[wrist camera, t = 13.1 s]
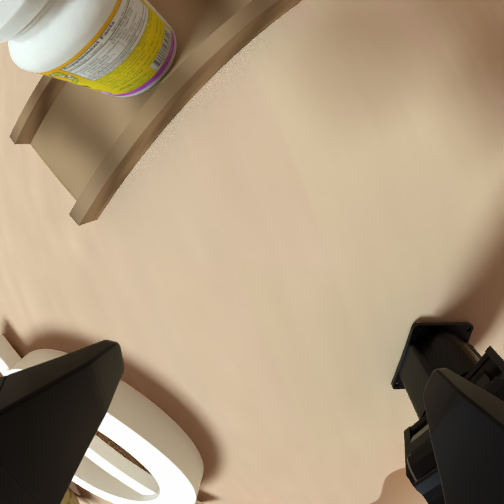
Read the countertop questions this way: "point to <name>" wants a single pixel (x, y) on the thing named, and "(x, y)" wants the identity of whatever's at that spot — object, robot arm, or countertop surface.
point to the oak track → (134, 101)
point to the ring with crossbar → (129, 446)
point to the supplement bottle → (90, 42)
